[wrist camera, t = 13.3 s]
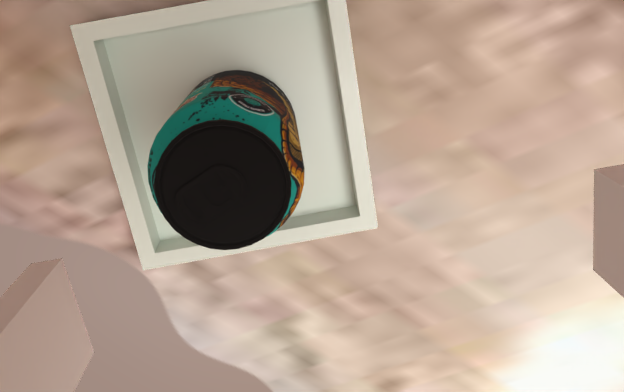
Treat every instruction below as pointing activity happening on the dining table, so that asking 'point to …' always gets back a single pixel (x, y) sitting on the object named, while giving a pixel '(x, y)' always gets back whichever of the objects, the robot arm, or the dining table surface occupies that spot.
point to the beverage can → (228, 162)
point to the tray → (224, 57)
